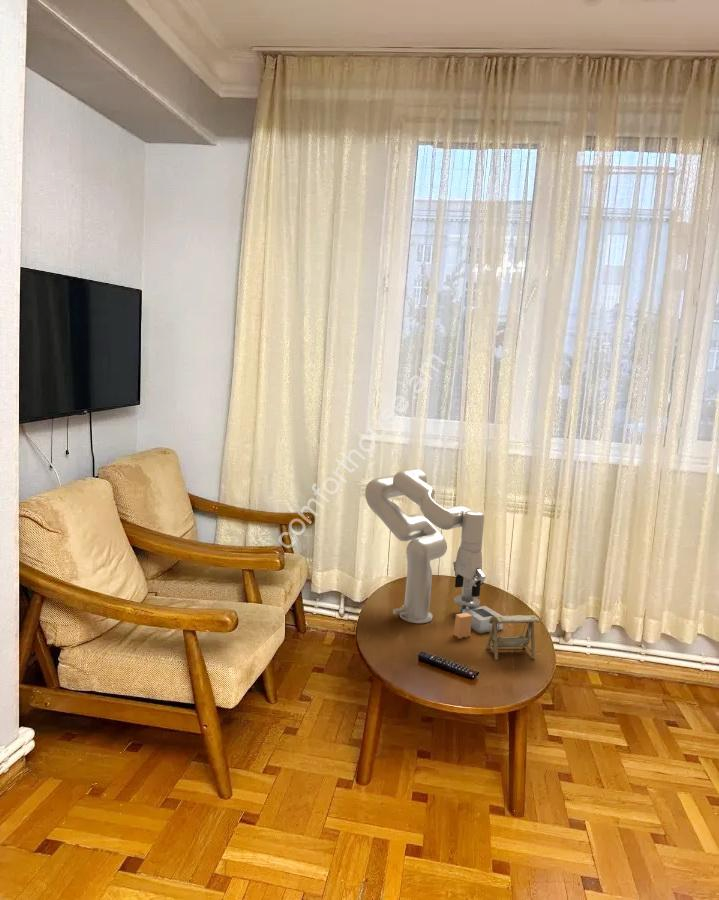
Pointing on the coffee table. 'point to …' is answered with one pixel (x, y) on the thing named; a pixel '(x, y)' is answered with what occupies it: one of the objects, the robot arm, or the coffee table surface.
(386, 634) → the coffee table surface
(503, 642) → the swing bench
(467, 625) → the orange rectangular block
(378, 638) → the coffee table surface
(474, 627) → the bracket head
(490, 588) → the coffee table surface
